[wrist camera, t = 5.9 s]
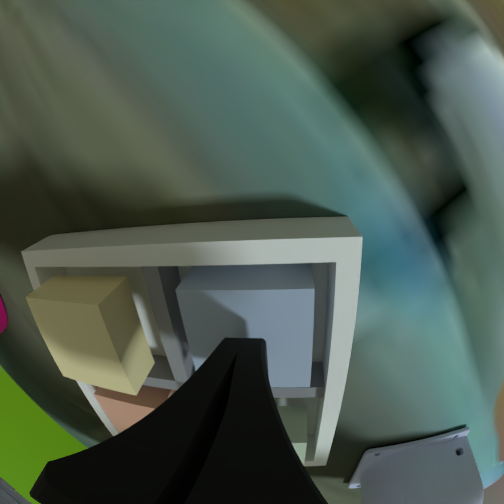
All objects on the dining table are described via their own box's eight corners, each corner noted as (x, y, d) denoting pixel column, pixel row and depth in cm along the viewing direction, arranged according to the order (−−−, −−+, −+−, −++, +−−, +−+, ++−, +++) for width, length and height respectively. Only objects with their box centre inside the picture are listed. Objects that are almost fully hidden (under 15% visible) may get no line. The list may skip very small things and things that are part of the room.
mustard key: (127, 276, 11) (97, 305, 9) (154, 362, 12) (136, 395, 10) (54, 275, 11) (25, 296, 9) (84, 350, 13) (63, 376, 11)
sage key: (307, 405, 12) (307, 442, 10) (302, 448, 14) (301, 479, 12) (214, 402, 13) (203, 437, 11) (227, 445, 14) (220, 474, 12)
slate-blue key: (310, 260, 11) (314, 288, 9) (308, 351, 12) (310, 387, 10) (194, 263, 11) (175, 289, 9) (211, 350, 13) (199, 383, 11)
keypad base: (348, 216, 10) (362, 236, 8) (324, 436, 16) (325, 465, 14) (51, 234, 13) (21, 251, 10) (127, 416, 18) (115, 438, 16)
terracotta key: (175, 380, 14) (162, 410, 12) (193, 425, 16) (184, 451, 14) (110, 369, 15) (93, 393, 13) (134, 414, 17) (122, 437, 15)
